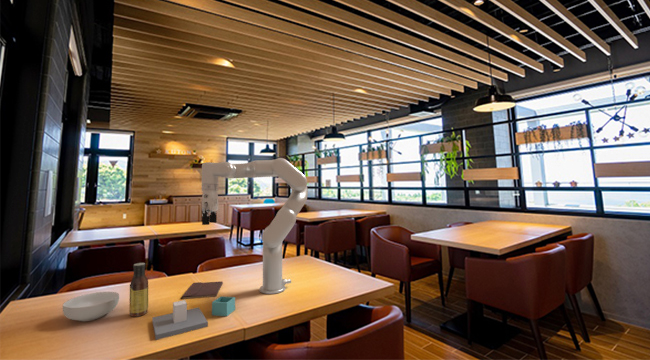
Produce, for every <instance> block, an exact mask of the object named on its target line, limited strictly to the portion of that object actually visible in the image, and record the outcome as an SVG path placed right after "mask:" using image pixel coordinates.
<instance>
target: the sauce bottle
mask: <svg viewBox="0 0 650 360" xmlns="http://www.w3.org/2000/svg"><path fill="white" fill-rule="evenodd" d="M132 268H133V276H132V279H131V281H130V283H129V310H128V311H129V316H130V317H133V318H134V317H142V316H143V315H146V314H147V313H148V312H149V278H148V277H147V276H146V263H145V262H137V263H134V264H133V267H132Z"/></svg>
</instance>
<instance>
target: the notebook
mask: <svg viewBox="0 0 650 360" xmlns="http://www.w3.org/2000/svg"><path fill="white" fill-rule="evenodd" d="M223 284H224V282H223V281H222V280H221V281H205V282H203V281H201V282H200V281H199V282H197V281H196V282H193V283H191V285H190V286H189V287H188V288H187V290H185V292H184V293H183V295H182V296H181V297H180V299H181V300H187V299H202V298H214V297H217V295H218V294H219V293H220V292H219V291H220V290H221V288H222V285H223Z"/></svg>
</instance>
